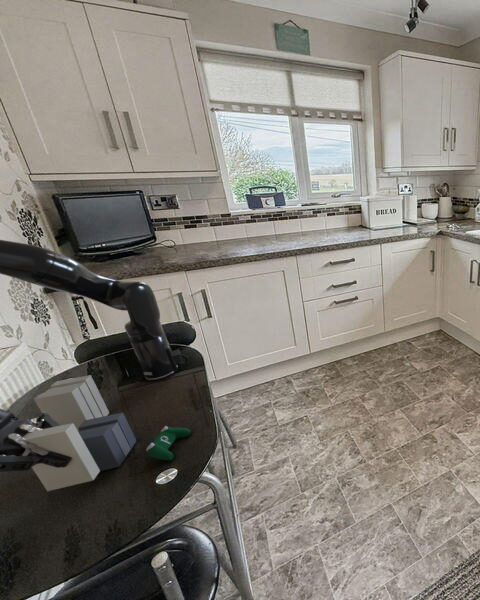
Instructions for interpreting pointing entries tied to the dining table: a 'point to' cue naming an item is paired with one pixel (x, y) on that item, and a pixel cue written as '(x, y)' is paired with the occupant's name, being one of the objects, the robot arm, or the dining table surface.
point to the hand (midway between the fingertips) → (73, 456)
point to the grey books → (107, 439)
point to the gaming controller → (165, 442)
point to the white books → (72, 401)
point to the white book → (67, 444)
